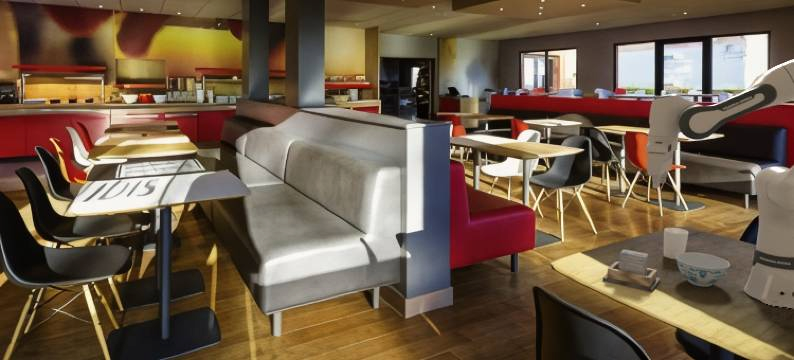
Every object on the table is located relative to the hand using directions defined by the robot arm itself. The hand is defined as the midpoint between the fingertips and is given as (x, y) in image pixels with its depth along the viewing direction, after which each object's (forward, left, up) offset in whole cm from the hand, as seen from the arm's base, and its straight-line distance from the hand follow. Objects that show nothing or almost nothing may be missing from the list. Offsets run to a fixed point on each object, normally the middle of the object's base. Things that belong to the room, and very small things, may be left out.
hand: (659, 185), depth 175 cm
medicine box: (+3, +13, -29) cm, 32 cm away
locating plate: (+3, +13, -30) cm, 33 cm away
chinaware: (-15, +1, -30) cm, 34 cm away
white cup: (-3, -21, -30) cm, 37 cm away
